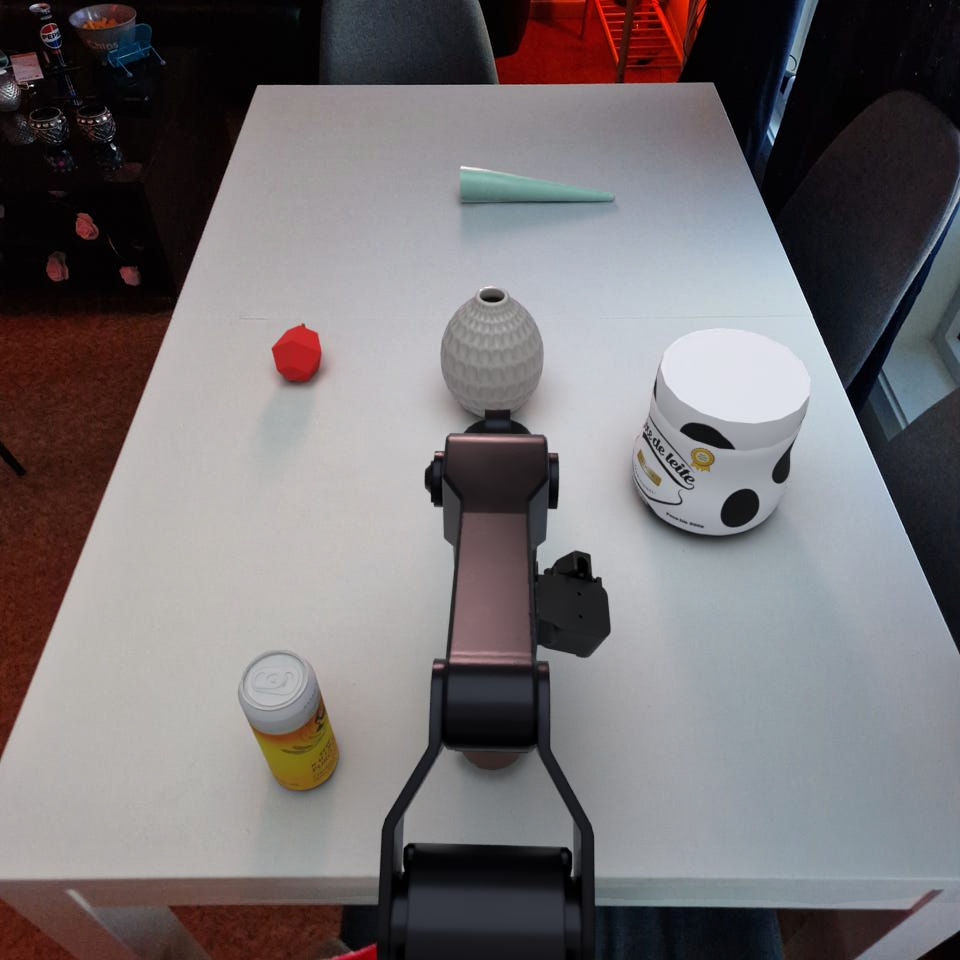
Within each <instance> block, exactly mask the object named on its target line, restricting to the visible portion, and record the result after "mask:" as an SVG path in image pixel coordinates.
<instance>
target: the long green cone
mask: <svg viewBox="0 0 960 960" xmlns="http://www.w3.org/2000/svg"><path fill="white" fill-rule="evenodd" d="M459 169H460V170H459V195H460V196H459V197H460V203H503V202H504V203H508V202H514V203H515V202H613V201H615V200H616V194H614V193H612V192H608V191H605V190H604V191H603V190H600V189H599V190H598V189H594V188H588V187H582V186H579V185H578V186H577V185H571V184H567V183H562V182H556V181H550V180H546V179H541V178H536V177H530V176H525V175H519V174H513V173H508V172H503V171H499V170H498V171H497V170H491V169H486V168H481V167H474V166H473V167H471V166H467V165H466V166H465V165H461V166H460V168H459Z"/></svg>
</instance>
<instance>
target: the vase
mask: <svg viewBox="0 0 960 960" xmlns="http://www.w3.org/2000/svg"><path fill="white" fill-rule="evenodd" d="M440 344H441V345H440V353H439V354H440V355H439V357H440V360H439V361H440V368H441V374H442V377H443V380H444V382H445V385H446V387H447V389H448V391H449V392H450V394H451V395H452V396H453V398H454V399H455V400H456V402H458V403H459V404H460V405H461V407H462V408H464V409H465V410H467V411H468V412H470V413H472V414H474V415H476V416H478V417H481V418H484V417H485V409H511V414H512V413H514V412H515V411H517V410H519V409H520V408H521V407H522V406H523V405H525V403H526V402H528V400H529V399H530V398H531V396H532V395H533V394H534V392H535V391H536V389H537V387H538V386H539V385H538V384H539V382H540V379H541V378H542V374H543V368H544V358H545V357H544V356H545V355H544V353H545V350H544V342H543V338H542V335H541V331H540V329H539V326H538V325H537V323H536V321H535V319H534V317H533V316H532V314H531V313H530V312H529V311H528V309H527V308H526V307H525V306H524V305H523V304H522V303H520V302H519V301H517V299H515V298H514V297H511V296H510V294H509V292H508V291H507V290H506V289H505V288H502V287H499V286H494V285H493V286H485V287H482V288H480V289H478V290H477V291H476V293H475V295H474V296H472V297H471V298H469V299H468V300H466V301H465V302H464V303H462V304H461V305H460V307H459V308H458V309H457V310H456V311H455V312H454V313H453V315H452V316H451V318H450V320H449V321H448V323H447V325H446V327H445V329H444V332H443V335H442V338H441V343H440Z"/></svg>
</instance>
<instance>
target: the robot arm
mask: <svg viewBox="0 0 960 960" xmlns="http://www.w3.org/2000/svg"><path fill="white" fill-rule="evenodd" d="M511 417H512V413H511V409H485V417H483V418H484V419H481V420H479V421H475V422H474V423H473V424H471V425H469V426H467V428H466V429H465V430H464V432H450V433H449V434H447V436H445V440H444V441H445V443H444V450H435V451H434V453H433V460H430V463H429V465H428V466H427V467H426V468H425V469H424V477H423V478H424V483H423V484H424V489H425V491H427V492H428V493H429V494H430V503H431V504H433V507H434V508H442V523H443V524H442V525H443V526H442V527H443V528H442V529H443V539H444V540H445V541H446V542H448V543H449V544H450V545H451V546H452V550H453V551H452V552H453V575H452V584H451V585H452V587H451V597H450V608H449V618H448V628H447V640H446V647H445V648H446V650H445V658H434V659H433V661H432V667H431V675H430V676H431V678H430V689H429V690H430V691H429V693H430V694H429V713H428V714H429V715H428V719H429V720H428V742H427V748H426V749H425V750H424V752H423V753H422V756H421V757H420V759H419V761H418V762H417V765H416V766H415V767H414V769H413V771H412V772H411V774H410V776H409V777H408V780H407V781H406V783H405V784H404V786H403V787H402V789H401V791H400V793H399V795H398V796H397V798H396V800H395V801H394V803H393V804H392V806H391V808H390V809H389V811H388V813H387V815H386V816H385V818H384V820H383V824H382V827H381V833H380V835H381V837H380V853H379V855H380V858H379V874H378V875H379V877H378V893H377V894H378V897H377V898H378V899H377V915H376V917H377V918H376V943H375V945H376V947H375V952H376V953H375V955H376V960H596V869H595V867H596V866H595V865H596V863H595V862H596V861H595V859H596V858H595V857H596V856H595V832H594V829H593V826H592V823H591V822H590V819H589V818H588V816H587V814H586V812H585V810H584V808H583V806H582V805H581V803H580V801H579V799H578V797H577V795H576V793H575V792H574V790H573V788H572V786H571V784H570V783H569V780H568V778H567V777H566V775H565V773H564V771H563V769H562V768H561V766H560V764H559V761H558V760H557V759H556V757H555V755H554V753H553V751H552V749H551V673H550V672H551V671H550V663H549V661H548V660H538V658H537V655H538V646H541V647H543V648H544V649H547V650H552V651H556V652H561V653H565V654H570V655H574V656H576V657H577V658H580V659H581V658H582V659H587V658H590V657H591V656H592V655H593V654H594V653H595V652H596V650H598V648H599V647H600V646H602V644H603V643H604V642H605V640H606V639H607V638H608V637H609V636H610V634H611V632H612V625H611V615H610V614H611V613H610V603H609V595H608V592H607V590H606V589H605V587H603V580H602V578H603V577H601V576H596V577H594V576H593V566H592V555H591V554H590V553H588V552H584V551H581V550H577V549H574V550H573V551H571V552H569V553H566V554H565V555H563V556H561V557H559V558H557V559H556V560H555V561H554V563H553V565H552V566H551V567H547V568H545V569H544V570H543V574H542V573H539V561H538V560H537V559H538V557H537V556H538V547H539V546H541V545H542V544H543V543H544V542H545V541H546V540H547V531H548V514H549V513H548V511H549V510H557V509H558V506H559V496H560V495H559V494H560V461H559V460H560V457H559V453H558V452H549V443H548V438H547V436H545V434H543V433H542V434H540V433H539V434H537V433H536V434H535V433H534V434H533V433H532V432H530V430H529V429H528V427H526V426H524V425H523V424H522V423H520V422H518V421H516V420H514V419H511ZM444 748H445V749H446V750H447V751H454V752H462V753H463V752H496V753H521V754H529V753H532V752H533V751H534V750H535V752H536V753H537V755H538V757H539V759H540V760H541V761H540V762H541V763H542V765H543V766H544V768H545V770H546V773H547V774H548V775H549V778H550V779H551V782H552V784H553V785H554V787H555V789H556V790H557V793H558V794H559V796H560V798H561V800H562V802H563V803H564V805H565V807H566V809H567V811H568V813H569V814H570V816H571V818H572V824H573V825H572V838H573V839H572V842H573V843H572V847H573V848H572V851H571V849H570V848H568V846H556V845H555V846H553V845H551V846H550V845H522V844H521V845H519V844H518V845H516V844H484V843H483V844H482V843H445V842H444V843H443V842H442V843H441V842H408V843H407V844H406V845H405V846H404V828H405V815H406V813H407V811H408V810H409V808H410V806H411V804H412V803H413V802H414V799H415V798H416V797H417V794H418V793H419V791H420V790H421V788H422V786H423V784H424V783H425V781H426V779H427V778H428V775H429V774H430V773H431V771H432V769H433V767H434V765H435V764H436V762H437V760H438V759H439V757H440V756H441V753H442V752H443V750H444ZM572 872H573V875H572Z"/></svg>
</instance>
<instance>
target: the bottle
mask: <svg viewBox="0 0 960 960" xmlns="http://www.w3.org/2000/svg"><path fill="white" fill-rule="evenodd" d="M462 753H463V755H464V756H465V758H467V759H468V761H470V763H472V764H473V765H475V766H477V767H479V768H482V769H486V770H497V769H503V768H506V767H508V766H510V765H512V764H513V763H514V762H516V760H517V759H518V758H519V757H520V755H521V754H522V753H496V752H462Z"/></svg>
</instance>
